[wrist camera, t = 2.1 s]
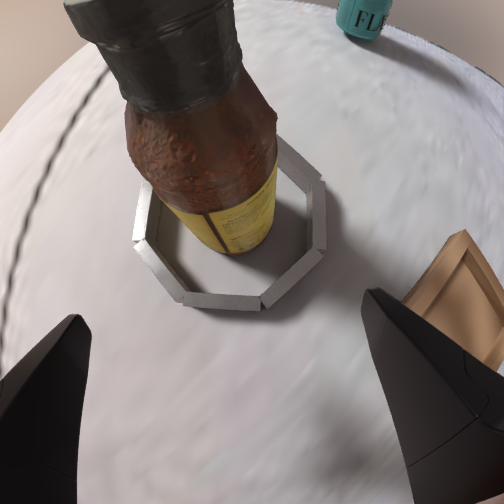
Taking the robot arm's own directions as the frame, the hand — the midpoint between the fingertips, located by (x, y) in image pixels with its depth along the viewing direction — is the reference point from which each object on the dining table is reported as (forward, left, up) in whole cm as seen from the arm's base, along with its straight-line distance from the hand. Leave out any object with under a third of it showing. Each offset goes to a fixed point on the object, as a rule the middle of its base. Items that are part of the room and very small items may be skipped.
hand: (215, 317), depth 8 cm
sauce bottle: (+4, +6, -13) cm, 15 cm away
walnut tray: (+12, -15, -13) cm, 24 cm away
